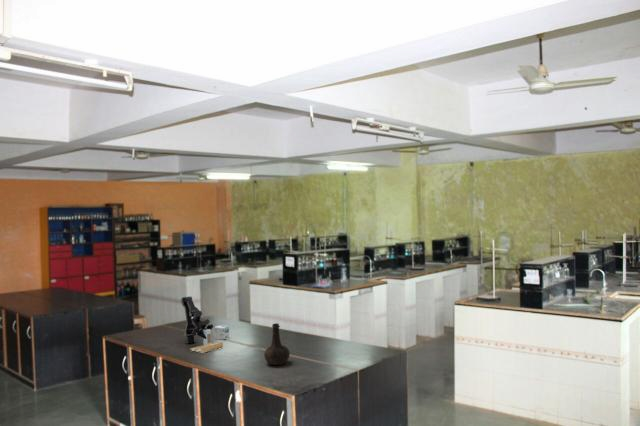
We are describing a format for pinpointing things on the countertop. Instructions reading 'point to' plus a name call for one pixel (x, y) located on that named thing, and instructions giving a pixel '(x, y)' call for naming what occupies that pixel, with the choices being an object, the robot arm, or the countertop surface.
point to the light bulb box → (222, 332)
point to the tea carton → (207, 337)
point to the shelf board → (198, 349)
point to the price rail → (211, 346)
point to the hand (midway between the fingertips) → (208, 338)
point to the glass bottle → (276, 349)
